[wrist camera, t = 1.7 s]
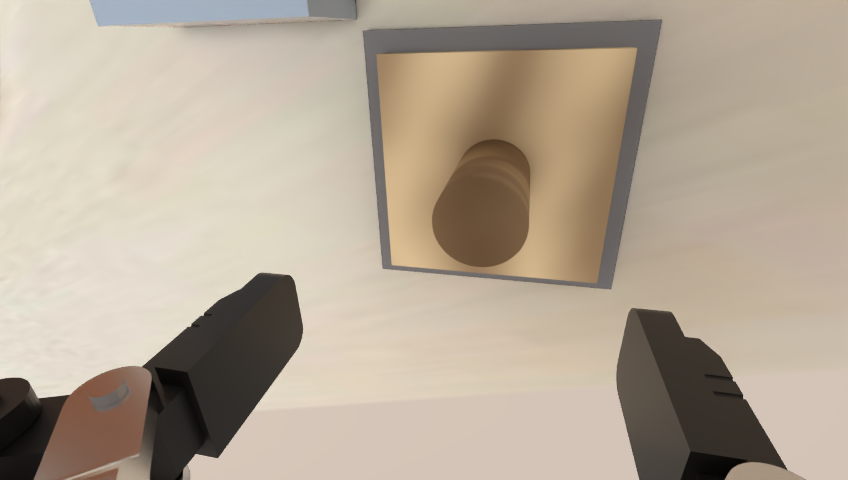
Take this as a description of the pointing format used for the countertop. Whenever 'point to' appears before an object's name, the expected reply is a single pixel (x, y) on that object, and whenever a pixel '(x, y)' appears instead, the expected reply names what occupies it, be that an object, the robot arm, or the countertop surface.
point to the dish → (218, 12)
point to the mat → (524, 38)
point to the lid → (503, 157)
